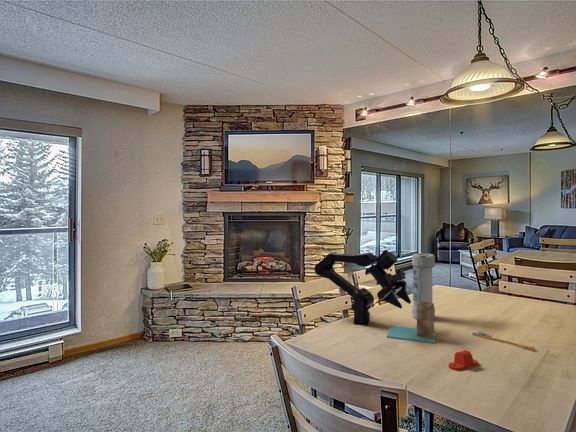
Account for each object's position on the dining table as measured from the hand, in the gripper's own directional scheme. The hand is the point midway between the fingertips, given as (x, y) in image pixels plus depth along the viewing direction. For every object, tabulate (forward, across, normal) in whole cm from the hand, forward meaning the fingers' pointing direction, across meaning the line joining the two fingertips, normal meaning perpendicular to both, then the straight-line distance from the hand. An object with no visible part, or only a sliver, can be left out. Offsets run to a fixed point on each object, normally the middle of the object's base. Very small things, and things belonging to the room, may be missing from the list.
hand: (406, 305), depth 149 cm
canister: (+7, +25, +10) cm, 28 cm away
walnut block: (+13, 0, +2) cm, 13 cm away
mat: (+10, -1, +6) cm, 12 cm away
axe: (+32, +15, -14) cm, 38 cm away
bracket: (+28, -18, -10) cm, 35 cm away
